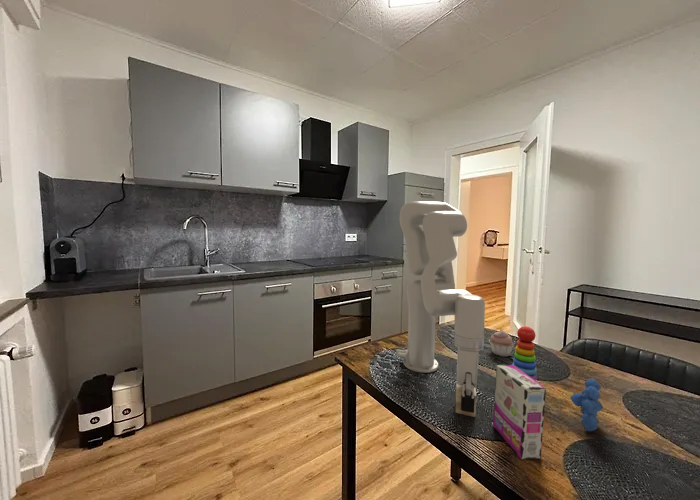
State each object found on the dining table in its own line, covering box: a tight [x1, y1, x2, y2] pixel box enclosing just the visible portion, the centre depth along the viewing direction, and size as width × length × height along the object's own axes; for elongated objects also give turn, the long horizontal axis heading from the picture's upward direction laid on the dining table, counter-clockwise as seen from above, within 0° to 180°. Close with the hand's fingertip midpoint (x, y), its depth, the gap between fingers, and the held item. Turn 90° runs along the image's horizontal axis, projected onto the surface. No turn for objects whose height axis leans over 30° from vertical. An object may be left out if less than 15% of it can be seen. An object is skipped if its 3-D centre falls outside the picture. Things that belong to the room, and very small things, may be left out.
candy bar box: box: [492, 364, 547, 460], centre depth 68 cm, size 11×5×16 cm, turn 5°
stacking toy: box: [511, 325, 538, 382], centre depth 94 cm, size 8×8×19 cm
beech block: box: [455, 383, 477, 418], centre depth 81 cm, size 5×5×6 cm
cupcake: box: [488, 329, 515, 358], centre depth 117 cm, size 9×9×10 cm
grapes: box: [569, 378, 604, 432], centre depth 75 cm, size 12×7×12 cm, turn 139°
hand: (467, 401), depth 80 cm, fingers open, 9 cm apart
